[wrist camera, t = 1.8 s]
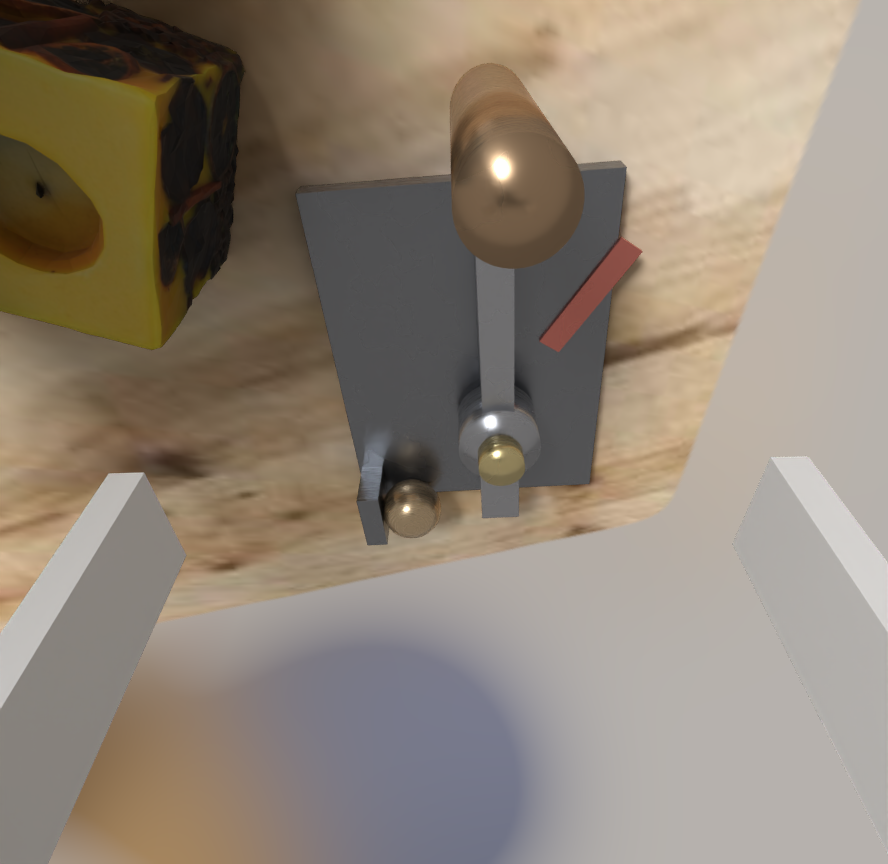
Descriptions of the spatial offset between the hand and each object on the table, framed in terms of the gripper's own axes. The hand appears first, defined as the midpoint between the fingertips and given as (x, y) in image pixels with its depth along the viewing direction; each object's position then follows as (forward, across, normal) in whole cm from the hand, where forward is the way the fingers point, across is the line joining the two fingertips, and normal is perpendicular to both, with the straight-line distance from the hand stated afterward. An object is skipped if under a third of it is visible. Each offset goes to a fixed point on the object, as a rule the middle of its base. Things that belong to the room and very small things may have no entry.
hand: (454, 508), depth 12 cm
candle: (+22, -15, +4) cm, 27 cm away
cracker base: (+21, +2, -10) cm, 24 cm away
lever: (+20, +2, -6) cm, 21 cm away
